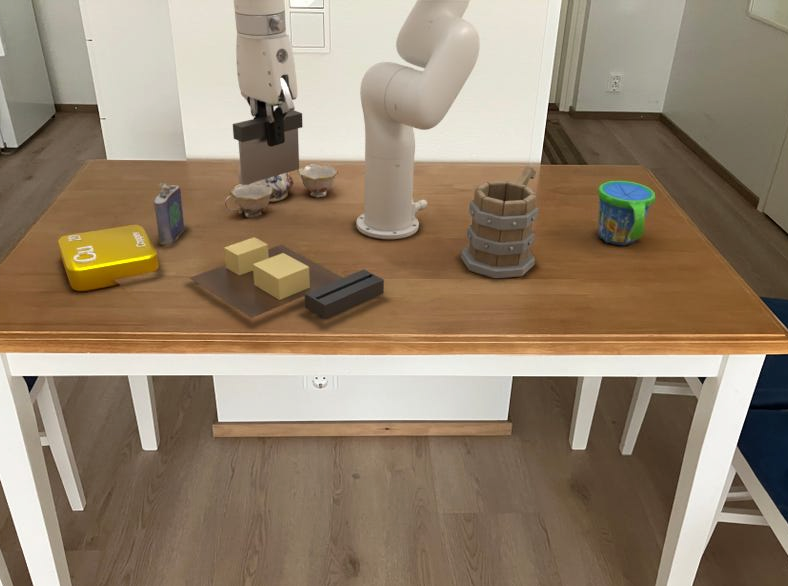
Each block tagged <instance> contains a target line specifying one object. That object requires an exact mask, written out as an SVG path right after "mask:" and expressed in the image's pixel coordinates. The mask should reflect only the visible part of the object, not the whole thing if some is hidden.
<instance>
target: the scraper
mask: <svg viewBox="0 0 788 586" xmlns="http://www.w3.org/2000/svg"><path fill="white" fill-rule="evenodd" d="M266 122H268V116H265V117H261V118H256V119H254V118H251V119H248V120H244V121H240V122H236V123H232V134H233V140H236V141H238V153H239V165H240V167H241V181H242V185H246V184H250V183H253V182H256V181H260V180H263V179H267V178H270V177H274V176H277V175H281V174H284V173H287V172H288V173H291V172H295V171H298V169H299V168H300V149H299V147H300V145H299V129H301V128H304V127H303V113H302V112H300V111H297V110H295V109H294V110H293V111H291V112H288V113H287V114H286V118H285V119H284V120H283V122H284V136H285V142H284V143H282V144H279V145H276V146H272V147H270V146H268V144H267V132H266Z"/></svg>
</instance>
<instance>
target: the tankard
mask: <svg viewBox="0 0 788 586" xmlns="http://www.w3.org/2000/svg"><path fill="white" fill-rule="evenodd" d="M536 174H537V171H536V169H534V167H532V166H528V165H527V166H525V169H524V170H523V172H522V173H521V175H520V176H519V178H518V179H517V180H516V181H515V182H513V181H509V180H508V181H507V180H499V181H486V182H484V183H482V184H481V185H479V186H478V187H476V188H475V189H474V194H473V200H471V201H469V209H468V213H469V215H470V216H471V223H470V225H469V226H468V227H467V230H466V239H467V240H468V242H469V244H468V245H467V246H466V247H465V248H463V249H462V250H461V251H460V258H461V260H462V262H463V263H464V265H465V266H466V268H467V269H468V270H469V272H472V273H475V274H479V275H482V276H485V277H488V278H492V279H506V278H507V279H508V278H520V277H523V276H524V275H525V274H526V273H527V272H528V271H530V270H531V269H532V268H533V266H535V262H536V258H535V257H534V255H533V254H532V253H531V252H530V248H531V247H532V246H533V245H534V241H535V234H536V233H534V230H532V229H533V223H534V222H536V221H537V220H538V215H539V208H538V207H537V205H536V202H537V194H536V193H535V192H534V191H533V189H531V188H530V187H529V186H528V184H529V181H530V180H533V179H535V176H536Z"/></svg>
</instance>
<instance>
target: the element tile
mask: <svg viewBox="0 0 788 586" xmlns="http://www.w3.org/2000/svg"><path fill="white" fill-rule="evenodd" d="M57 245H58V248H59V252H60V257H61V261H62V264H63V267H64V270H65V273H66V276H67V278H68V282H69V286H70V288H71V289H72V290H74V291H76V292H89V291H93V290H94V291H95V290H99V289H105V288H111V287H117V286H120V285H121V284H120V283H118V282H117V281H116V280H117V279H123V278H127V277H133V276H139V275H144V274H149V273H153V272H155V271H158V269H159V267H160V265H159V260H158V252H157V250H156V248H155V247H154V245H153V243H152V241H151V240H150V238H149V236H148V234H147V233H146V231H145V228H144V227H143V226H140V224H129V225H123V226H117V227H111V228H105V229H104V228H103V229H98V230H97V229H96V230H91V231H86V232H85V231H84V232H78V233H72V234H66V235H63V236H61V237H60V238H59V239H58V241H57Z"/></svg>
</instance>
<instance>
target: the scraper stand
mask: <svg viewBox="0 0 788 586" xmlns="http://www.w3.org/2000/svg"><path fill="white" fill-rule="evenodd" d="M384 285H385V279H384V278H382V277H380V276H378V275H376V274H374V273H372V272H370V271H368V270H367V269H364V268H363V269H361V270H358V271H355V272H353V273H351V274H349V275H346V276H344V277H343V278H341V279H339V280H337V281H334V282H332V283H329V284H327V285H324V286H322V287H320V288H317V289H315V290H312V291H310V292H308V293H305V296H304V308H305V309H307V310H309V311H311V312H312V313H314V314H315V315H317V316H319V317H321V318H322V319H324V320H326V319H328V318H330V317H333V316H335V315H338V314H340V313H342V312H345V311H346V310H349V309H351V308H353V307H355V306H357V305H359V304H362V303H364V302H366V301H368V300H371V299H374V298H375V297H378V296H380V295H382V294H384V289H385V287H384Z"/></svg>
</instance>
